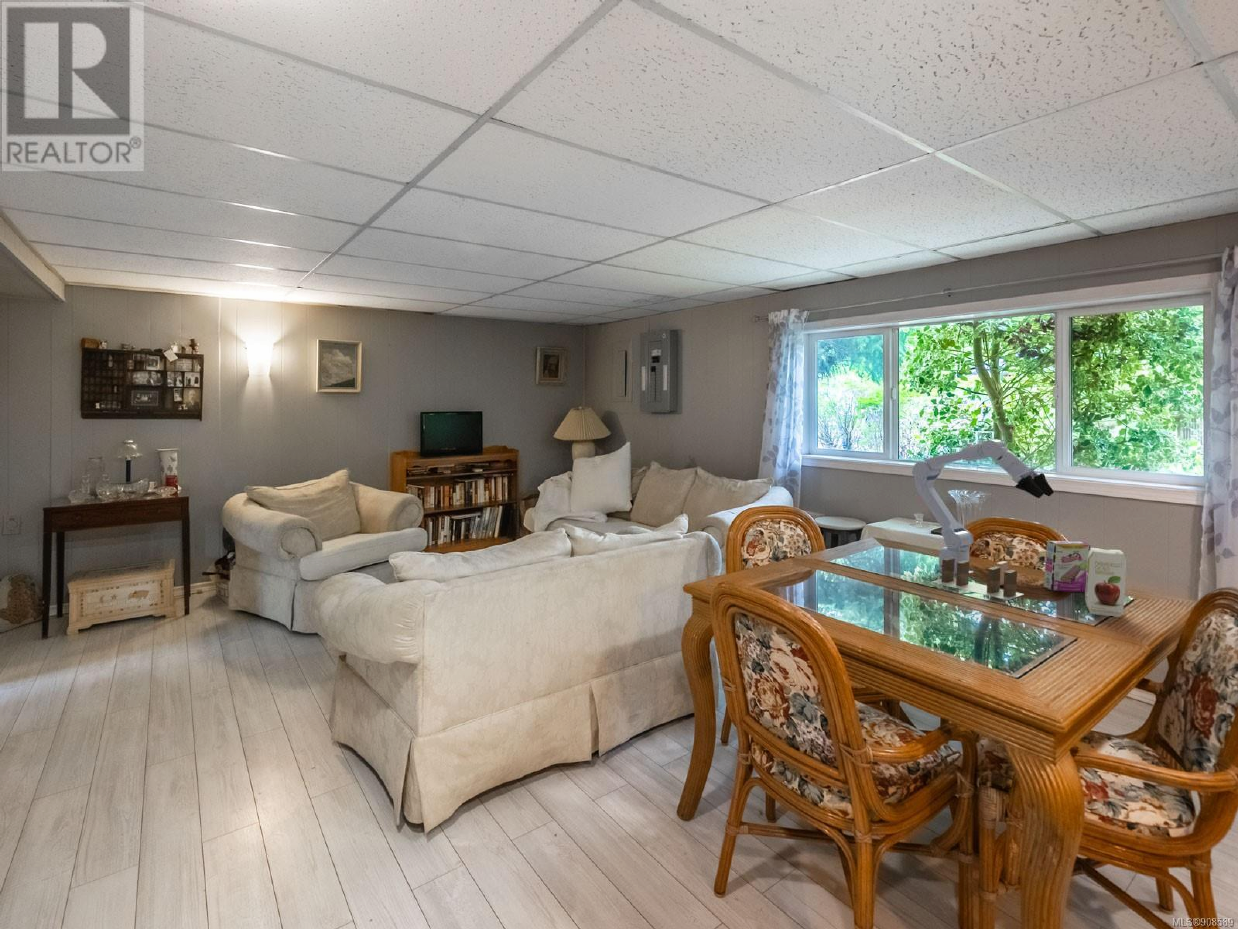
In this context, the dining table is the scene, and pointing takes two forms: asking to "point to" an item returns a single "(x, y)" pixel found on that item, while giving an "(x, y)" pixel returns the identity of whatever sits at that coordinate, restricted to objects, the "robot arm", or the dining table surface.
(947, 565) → the domino
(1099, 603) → the juice carton
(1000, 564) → the domino
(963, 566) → the domino
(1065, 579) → the candy bar box
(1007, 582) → the domino
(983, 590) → the board
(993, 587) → the domino
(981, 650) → the dining table surface
